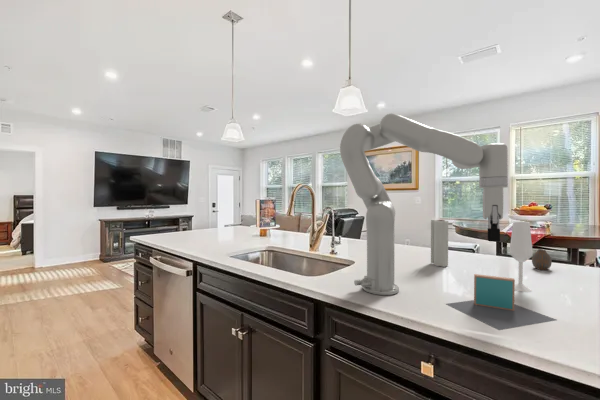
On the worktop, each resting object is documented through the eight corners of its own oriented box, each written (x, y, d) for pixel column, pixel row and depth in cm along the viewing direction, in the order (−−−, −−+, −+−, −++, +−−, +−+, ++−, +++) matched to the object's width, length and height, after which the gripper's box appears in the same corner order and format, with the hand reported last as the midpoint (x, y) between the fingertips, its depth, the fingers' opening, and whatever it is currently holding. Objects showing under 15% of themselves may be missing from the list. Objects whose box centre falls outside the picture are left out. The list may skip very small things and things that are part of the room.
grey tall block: (450, 266, 138) (450, 220, 137) (437, 267, 138) (437, 221, 137) (443, 263, 145) (443, 219, 144) (430, 263, 145) (430, 219, 145)
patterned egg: (550, 268, 135) (550, 248, 134) (552, 271, 129) (553, 251, 129) (530, 266, 138) (531, 247, 138) (532, 269, 133) (532, 249, 132)
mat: (499, 331, 74) (499, 329, 74) (445, 305, 91) (445, 303, 91) (557, 321, 80) (557, 319, 80) (496, 298, 97) (496, 297, 97)
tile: (474, 304, 90) (474, 275, 90) (474, 302, 92) (474, 274, 92) (514, 311, 86) (514, 280, 85) (513, 308, 87) (513, 278, 87)
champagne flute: (536, 292, 103) (537, 223, 102) (515, 291, 104) (516, 222, 103) (525, 286, 109) (526, 221, 109) (505, 285, 110) (505, 220, 110)
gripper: (478, 184, 102) (479, 237, 103) (480, 183, 89) (481, 244, 90) (504, 183, 99) (505, 238, 99) (510, 182, 86) (511, 245, 86)
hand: (493, 240), depth 95 cm, fingers closed
